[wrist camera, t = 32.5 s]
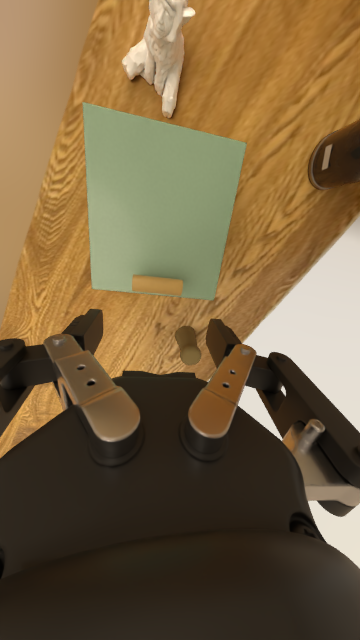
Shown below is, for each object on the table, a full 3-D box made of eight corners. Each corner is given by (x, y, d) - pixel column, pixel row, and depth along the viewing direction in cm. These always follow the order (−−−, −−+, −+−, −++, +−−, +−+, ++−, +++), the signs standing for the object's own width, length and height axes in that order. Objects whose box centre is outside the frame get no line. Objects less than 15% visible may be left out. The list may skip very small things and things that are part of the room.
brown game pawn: (192, 345, 56) (200, 370, 46) (173, 342, 55) (176, 367, 45) (198, 327, 53) (207, 350, 43) (177, 324, 52) (182, 347, 42)
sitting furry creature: (120, 73, 30) (101, -12, 19) (149, 5, 27) (144, -136, 17) (168, 123, 33) (174, 74, 23) (198, 67, 31) (220, -18, 20)
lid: (212, 299, 29) (223, 310, 24) (93, 287, 26) (79, 298, 21) (244, 145, 22) (268, 119, 17) (85, 106, 19) (61, 62, 14)
